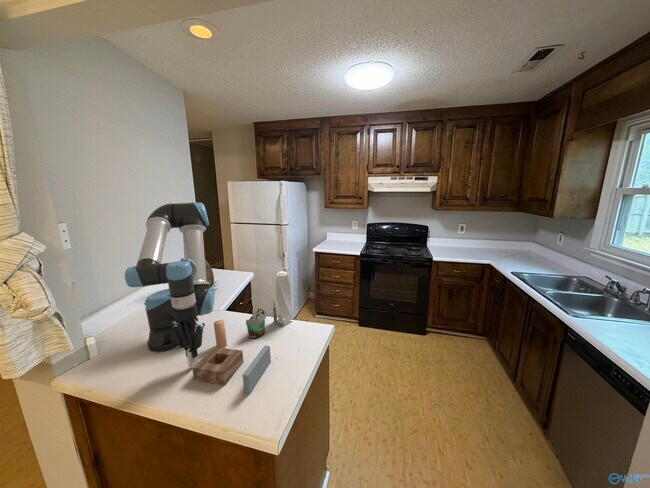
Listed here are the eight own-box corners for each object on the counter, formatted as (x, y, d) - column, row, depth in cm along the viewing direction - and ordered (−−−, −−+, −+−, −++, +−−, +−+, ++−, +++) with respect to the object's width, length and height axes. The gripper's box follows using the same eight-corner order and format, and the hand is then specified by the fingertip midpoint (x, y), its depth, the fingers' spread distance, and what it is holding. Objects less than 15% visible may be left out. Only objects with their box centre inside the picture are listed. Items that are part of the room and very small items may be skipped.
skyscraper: (285, 316, 136) (282, 265, 130) (296, 321, 131) (293, 268, 125) (273, 323, 130) (268, 269, 124) (283, 328, 125) (280, 272, 119)
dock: (188, 387, 88) (185, 366, 86) (217, 357, 103) (215, 339, 102) (250, 397, 83) (248, 375, 81) (271, 364, 98) (269, 345, 96)
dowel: (215, 350, 108) (211, 324, 105) (220, 345, 112) (217, 319, 109) (223, 351, 107) (220, 325, 105) (229, 346, 111) (226, 320, 108)
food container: (260, 342, 113) (258, 321, 111) (247, 341, 114) (245, 320, 112) (271, 327, 125) (270, 308, 123) (259, 326, 126) (258, 307, 124)
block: (194, 380, 89) (192, 367, 88) (215, 358, 101) (214, 347, 100) (225, 385, 87) (223, 372, 86) (243, 362, 98) (242, 350, 97)
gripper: (160, 308, 89) (170, 369, 94) (192, 311, 86) (201, 373, 91) (176, 299, 96) (185, 356, 101) (207, 302, 93) (215, 360, 98)
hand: (193, 364), depth 96 cm, fingers closed
